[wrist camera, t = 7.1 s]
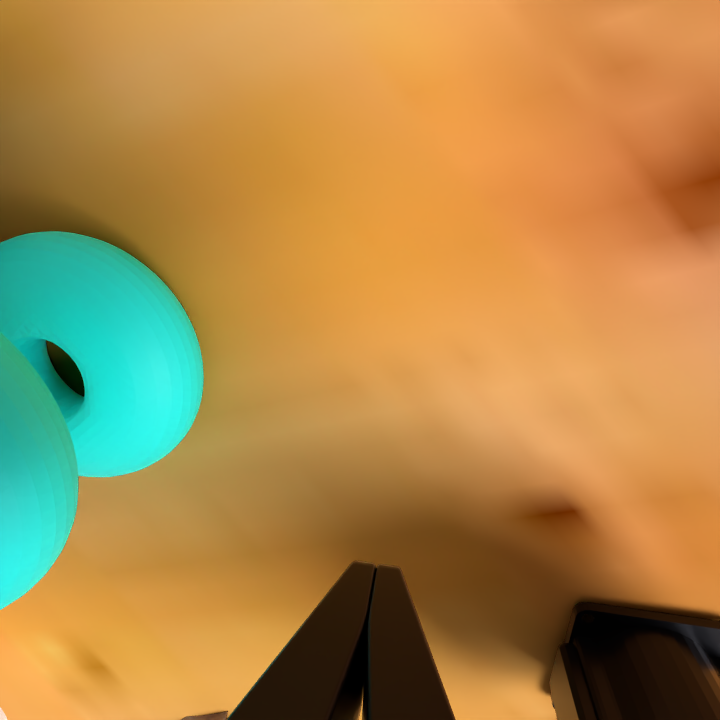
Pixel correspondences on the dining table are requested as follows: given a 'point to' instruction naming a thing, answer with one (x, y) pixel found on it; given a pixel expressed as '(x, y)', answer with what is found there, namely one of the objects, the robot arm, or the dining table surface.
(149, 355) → the donuts
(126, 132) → the dining table surface
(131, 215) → the dining table surface
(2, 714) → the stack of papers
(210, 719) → the wooden fragment
